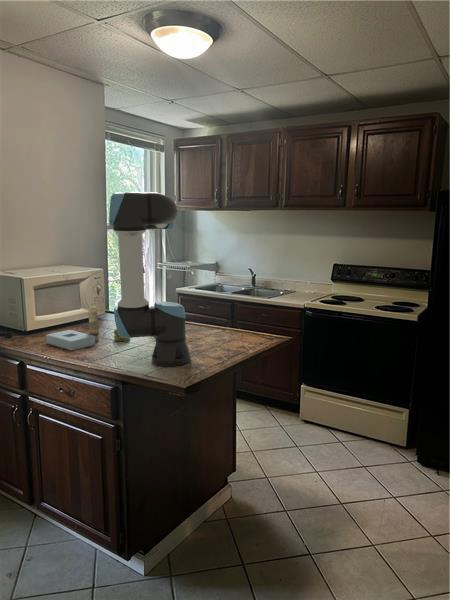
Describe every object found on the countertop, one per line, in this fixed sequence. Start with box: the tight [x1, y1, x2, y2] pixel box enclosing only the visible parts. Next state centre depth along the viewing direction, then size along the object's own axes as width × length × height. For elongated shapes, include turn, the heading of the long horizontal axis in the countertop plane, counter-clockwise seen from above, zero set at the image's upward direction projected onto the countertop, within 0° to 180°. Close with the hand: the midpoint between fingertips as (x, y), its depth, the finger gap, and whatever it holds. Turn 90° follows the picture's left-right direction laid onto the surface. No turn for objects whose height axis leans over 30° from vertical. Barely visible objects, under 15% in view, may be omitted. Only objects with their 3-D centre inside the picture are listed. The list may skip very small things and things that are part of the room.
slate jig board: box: [46, 329, 96, 351], centre depth 202 cm, size 20×12×4 cm, turn 51°
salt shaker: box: [113, 328, 131, 343], centre depth 207 cm, size 7×7×10 cm
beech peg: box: [87, 305, 100, 343], centre depth 206 cm, size 4×4×16 cm
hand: (134, 286), depth 212 cm, fingers open, 13 cm apart
